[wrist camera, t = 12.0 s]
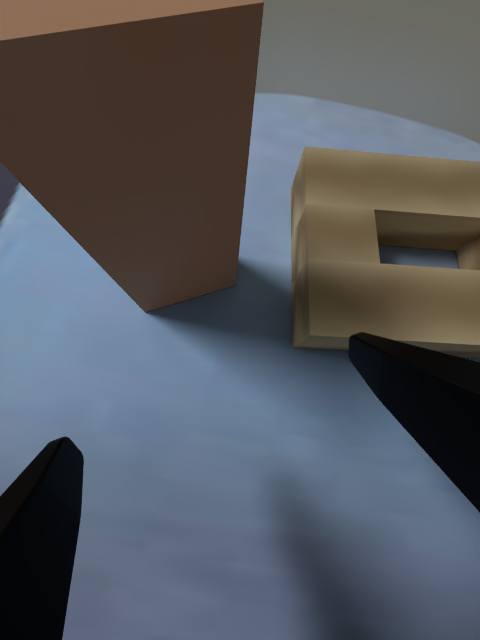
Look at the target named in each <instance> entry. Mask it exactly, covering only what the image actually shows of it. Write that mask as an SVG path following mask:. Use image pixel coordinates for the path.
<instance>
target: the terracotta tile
mask: <svg viewBox="0 0 480 640" xmlns="http://www.w3.org/2000/svg"><path fill="white" fill-rule="evenodd" d="M263 6H264V2H263V0H0V162H1V163H2V164H3V165H4V166H5V167H6V168H7V170H8V171H9V172H10V173H11V174H12V175H13V176H14V177H15V178H16V179H17V180H18V181H19V182H20V183H21V184H22V185H23V186H24V187H25V188H26V189H27V190H28V191H29V192H30V193H31V195H32V196H33V197H34V198H35V199H36V200H37V201H38V202H39V203H40V204H41V205H42V206H43V207H44V208H45V209H46V210H47V211H48V212H49V213H50V214H51V215H52V216H53V217H54V218H55V219H56V220H57V222H58V223H59V224H60V225H61V226H62V227H63V228H64V229H65V230H66V231H67V232H68V233H69V234H70V235H71V236H72V237H73V238H74V239H75V240H76V241H77V242H78V243H79V244H80V245H81V246H82V247H83V248H84V250H85V251H86V252H87V253H88V254H89V255H90V256H91V257H92V258H93V259H94V260H95V261H96V262H97V263H98V264H99V265H100V266H101V267H102V268H103V269H104V270H105V271H106V272H107V273H108V274H109V275H110V277H111V278H112V279H113V280H114V281H115V282H116V283H117V284H118V285H119V286H120V287H121V288H122V289H123V290H124V291H125V292H126V293H127V294H128V295H129V296H130V297H131V298H132V299H133V300H134V301H135V302H136V303H137V305H138V306H139V307H140V308H141V309H142V310H143V311H144V312H145V313H146V312H149V311H152V310H155V309H159V308H162V307H165V306H169V305H172V304H175V303H178V302H182V301H185V300H188V299H192V298H195V297H198V296H201V295H205V294H208V293H211V292H214V291H218V290H221V289H224V288H228V287H231V286H234V285H236V276H237V266H238V256H239V246H240V236H241V226H242V216H243V206H244V196H245V186H246V176H247V166H248V156H249V146H250V136H251V126H252V116H253V106H254V96H255V86H256V76H257V66H258V55H259V46H260V36H261V26H262V16H263Z"/></svg>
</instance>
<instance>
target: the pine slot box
mask: <svg viewBox="0 0 480 640" xmlns="http://www.w3.org/2000/svg"><path fill="white" fill-rule="evenodd" d="M291 237H292V341H293V348H310V349H328V350H346V351H349V337H350V336H351V335H353V334H356V333H359V332H365V333H369V334H373V335H377V336H380V337H384V338H388V339H392V340H396V341H400V342H403V343H407V344H411V345H415V346H419V347H423V348H427V349H430V350H434V351H438V352H442V353H446V354H450V355H453V356H457V357H471V358H480V162H474V161H462V160H451V159H439V158H428V157H417V156H405V155H394V154H383V153H371V152H360V151H348V150H337V149H326V148H314V147H304V150H303V154H302V157H301V160H300V163H299V166H298V169H297V172H296V175H295V178H294V181H293V185H292V188H291ZM378 245H385V246H399V247H412V248H426V249H440V250H453V251H456V255H457V260H458V264H459V269H452V268H438V267H424V266H409V265H395V264H381V263H380V257H379V248H378Z"/></svg>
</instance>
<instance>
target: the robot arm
mask: <svg viewBox="0 0 480 640" xmlns="http://www.w3.org/2000/svg"><path fill="white" fill-rule="evenodd" d="M349 358H350V361H351V362H352V364H353V365H354V366H355V368H356V369H357V371H358V372H359V373H360V375H361V376H362V377H363V379H364V380H365V382H366V383H367V384H368V386H369V387H370V388H371V390H372V391H373V393H374V394H375V395H376V396H377V398H378V399H379V400H380V401H381V402H382V404H383V405H384V406H385V407H386V408H387V409H388V410H389V411H390V413H391V414H392V415H393V416H394V417H395V418H396V419H397V420H398V422H399V423H400V424H401V425H402V426H403V427H404V428H405V429H406V430H407V432H408V433H409V434H410V435H411V436H412V437H413V438H414V439H415V440H416V442H417V443H418V444H419V445H420V446H421V447H422V448H423V449H424V451H425V452H426V453H427V454H428V455H429V456H430V457H431V458H432V459H433V461H434V462H435V463H436V464H437V465H438V466H439V467H440V468H441V470H442V471H443V472H444V473H445V474H446V475H447V476H448V477H449V478H450V480H451V481H452V482H453V483H454V484H455V485H456V486H457V487H458V488H459V490H460V491H461V492H462V493H463V494H464V495H465V496H466V497H467V499H468V500H469V501H470V502H471V503H472V504H473V505H474V506H475V507H476V509H477V510H478V511H479V512H480V362H476V361H473V360H469V359H465V358H461V357H457V356H453V355H450V354H446V353H442V352H438V351H434V350H430V349H427V348H423V347H419V346H415V345H411V344H407V343H403V342H400V341H396V340H392V339H388V338H384V337H380V336H377V335H373V334H369V333H365V332H359V333H356V334H353V335H351V336H350V337H349ZM83 465H84V459H83V455H82V453H81V451H80V450H79V449H78V448H77V446H76V445H75V444H74V443H73V442H72V441H71V439H70V438H68V437H61V438H59V439H56V440H53V441H51V442H49V443H48V444H47V445H46V446H45V447H44V449H43V450H42V451H41V452H40V453H39V454H38V455H37V456H36V457H35V459H34V460H33V461H32V462H31V463H30V464H29V465H28V466H27V467H26V469H25V470H24V471H23V472H22V473H21V474H20V475H19V476H18V477H17V479H16V480H15V481H14V482H13V483H12V484H11V485H10V486H9V487H8V488H7V490H6V491H5V492H4V493H3V494H2V495H1V496H0V640H62V637H63V630H64V624H65V617H66V611H67V604H68V598H69V591H70V585H71V578H72V572H73V565H74V559H75V552H76V546H77V539H78V533H79V526H80V518H81V506H82V486H83Z"/></svg>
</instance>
